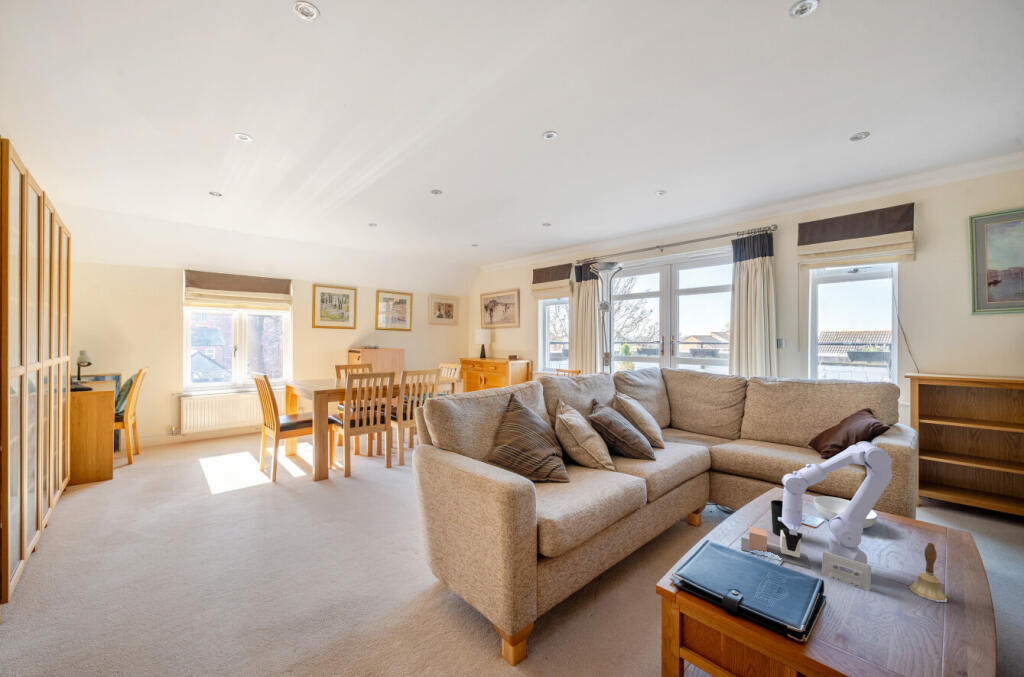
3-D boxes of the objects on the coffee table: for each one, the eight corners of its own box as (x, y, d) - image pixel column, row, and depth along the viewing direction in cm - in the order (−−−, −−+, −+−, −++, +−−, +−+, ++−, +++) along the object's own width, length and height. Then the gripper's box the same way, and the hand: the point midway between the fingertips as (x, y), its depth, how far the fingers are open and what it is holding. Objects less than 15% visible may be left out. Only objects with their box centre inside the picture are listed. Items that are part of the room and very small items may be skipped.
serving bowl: (826, 529, 162) (826, 513, 162) (804, 508, 182) (805, 493, 182) (888, 539, 156) (889, 521, 156) (859, 515, 176) (860, 500, 176)
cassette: (821, 575, 131) (822, 552, 130) (821, 572, 132) (822, 550, 132) (870, 592, 123) (871, 567, 122) (870, 589, 124) (871, 565, 124)
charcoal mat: (805, 554, 142) (805, 553, 142) (809, 568, 134) (809, 567, 134) (741, 538, 153) (741, 537, 152) (741, 550, 144) (741, 549, 144)
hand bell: (953, 607, 117) (956, 554, 117) (915, 596, 121) (918, 545, 121) (940, 591, 124) (943, 541, 124) (904, 582, 128) (907, 533, 128)
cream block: (798, 550, 142) (798, 534, 141) (799, 557, 137) (800, 540, 137) (779, 545, 144) (780, 529, 144) (781, 552, 140) (781, 536, 140)
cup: (797, 539, 153) (799, 508, 153) (777, 538, 153) (779, 508, 153) (784, 529, 161) (785, 500, 161) (765, 528, 161) (766, 499, 161)
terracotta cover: (765, 546, 147) (766, 530, 146) (766, 553, 142) (767, 536, 142) (748, 541, 149) (749, 526, 149) (748, 548, 145) (749, 532, 145)
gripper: (777, 498, 148) (775, 534, 149) (780, 513, 136) (778, 552, 136) (800, 503, 145) (798, 539, 145) (805, 519, 132) (803, 558, 133)
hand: (790, 546), depth 141 cm, fingers closed on cream block, 5 cm apart
